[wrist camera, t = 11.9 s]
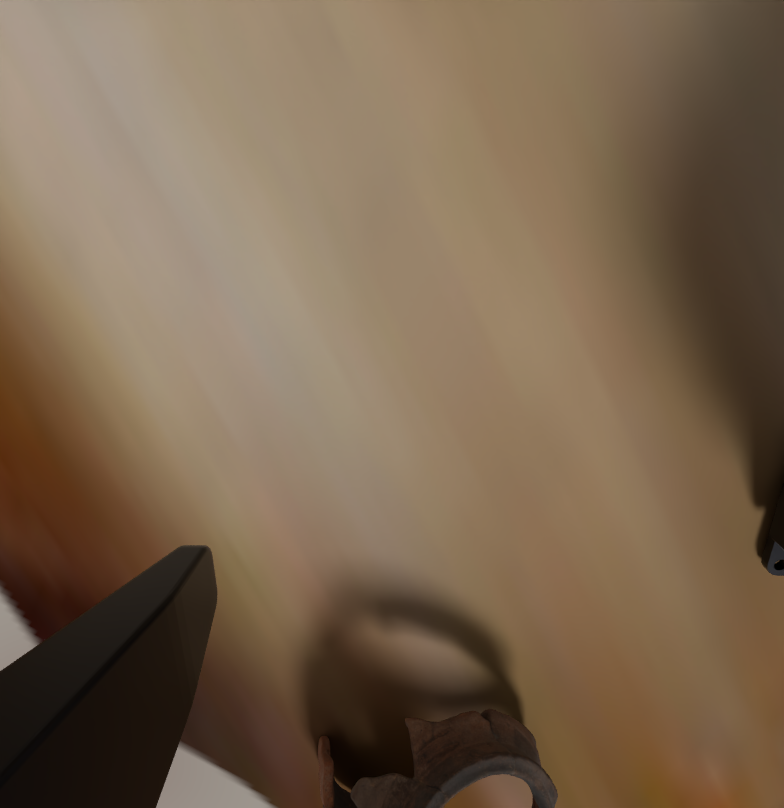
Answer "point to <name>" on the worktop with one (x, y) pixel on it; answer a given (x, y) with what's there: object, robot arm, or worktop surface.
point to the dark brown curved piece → (446, 764)
